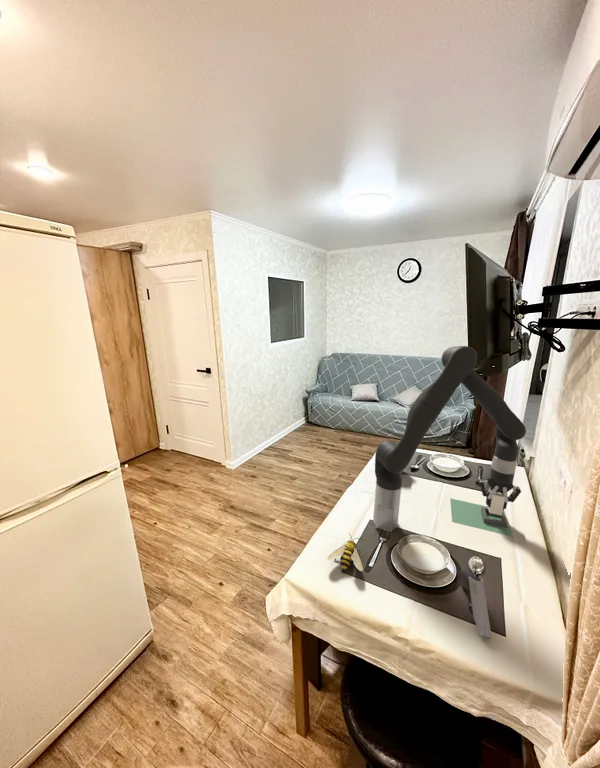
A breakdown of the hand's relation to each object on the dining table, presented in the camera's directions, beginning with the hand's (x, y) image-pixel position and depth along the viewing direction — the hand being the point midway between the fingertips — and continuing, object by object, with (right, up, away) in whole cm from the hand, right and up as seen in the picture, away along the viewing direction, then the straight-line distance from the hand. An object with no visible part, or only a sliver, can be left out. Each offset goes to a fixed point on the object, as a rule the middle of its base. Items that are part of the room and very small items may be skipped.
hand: (495, 507), depth 121 cm
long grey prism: (-27, -16, -33) cm, 45 cm away
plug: (0, -2, +1) cm, 2 cm away
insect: (-59, -11, -16) cm, 62 cm away
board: (-5, -6, +3) cm, 8 cm away
